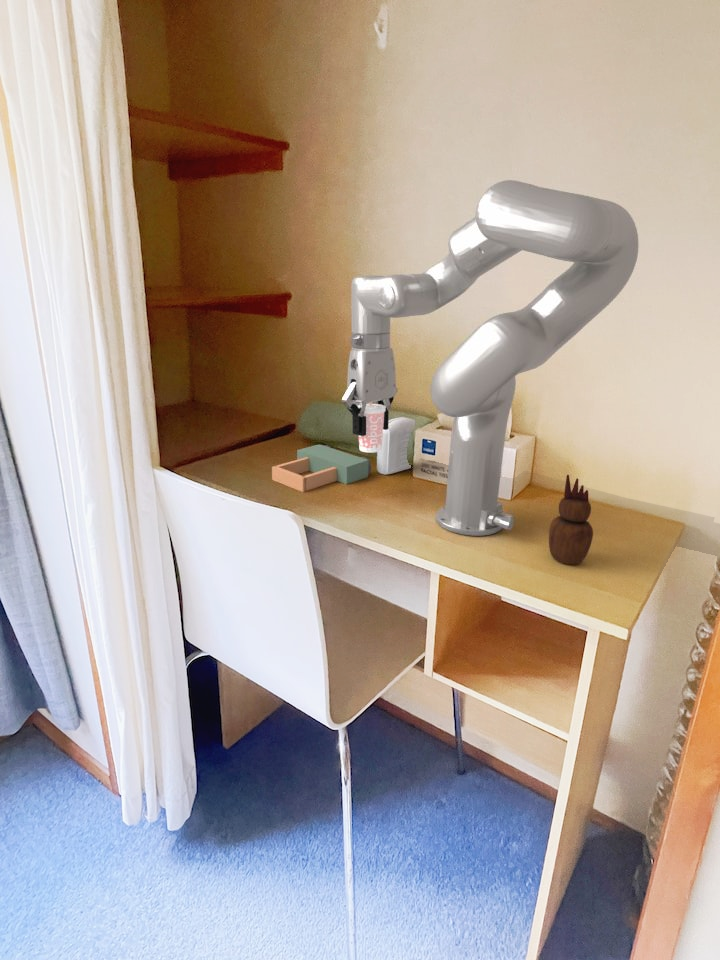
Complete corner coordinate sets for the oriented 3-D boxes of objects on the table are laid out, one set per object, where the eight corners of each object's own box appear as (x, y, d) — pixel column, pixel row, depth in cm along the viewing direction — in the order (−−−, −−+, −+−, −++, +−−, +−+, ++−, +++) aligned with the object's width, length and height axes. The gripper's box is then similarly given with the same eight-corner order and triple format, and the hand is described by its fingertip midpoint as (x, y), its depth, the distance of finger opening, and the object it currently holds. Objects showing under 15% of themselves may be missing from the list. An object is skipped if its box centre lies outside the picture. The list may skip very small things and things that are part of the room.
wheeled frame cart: (371, 475, 140) (371, 459, 139) (312, 496, 127) (312, 477, 126) (322, 459, 150) (322, 443, 149) (263, 476, 138) (263, 459, 136)
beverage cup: (356, 453, 125) (355, 384, 120) (355, 445, 131) (354, 379, 126) (386, 453, 125) (387, 384, 120) (384, 445, 131) (384, 379, 126)
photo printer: (403, 462, 149) (406, 413, 145) (417, 467, 146) (420, 416, 142) (373, 472, 143) (375, 419, 138) (387, 476, 140) (389, 423, 135)
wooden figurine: (541, 560, 103) (553, 476, 98) (551, 548, 108) (564, 467, 103) (582, 572, 100) (597, 485, 95) (591, 559, 104) (606, 475, 99)
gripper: (354, 347, 112) (355, 443, 118) (413, 339, 124) (411, 427, 130) (325, 344, 117) (327, 436, 123) (385, 337, 129) (384, 421, 135)
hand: (370, 430), depth 126 cm, fingers closed on beverage cup, 6 cm apart
